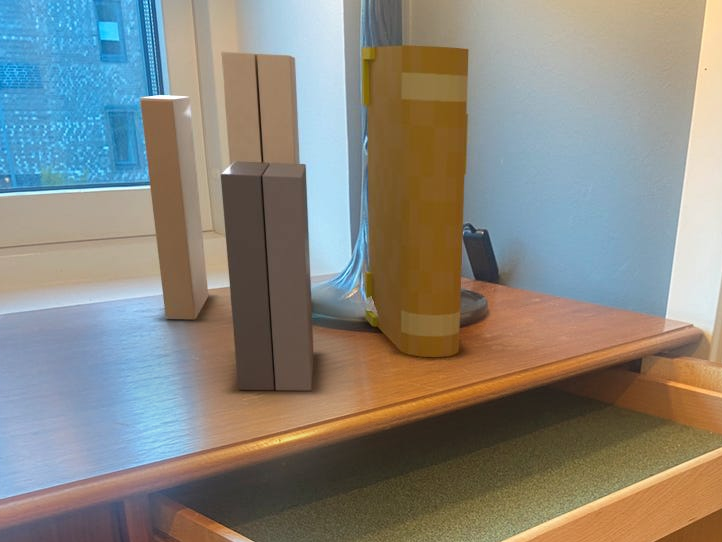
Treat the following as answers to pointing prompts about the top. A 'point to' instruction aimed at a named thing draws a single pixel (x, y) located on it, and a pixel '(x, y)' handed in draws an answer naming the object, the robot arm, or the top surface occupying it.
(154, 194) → the cream book
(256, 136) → the cream books
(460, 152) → the book
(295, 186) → the grey books
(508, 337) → the top surface
